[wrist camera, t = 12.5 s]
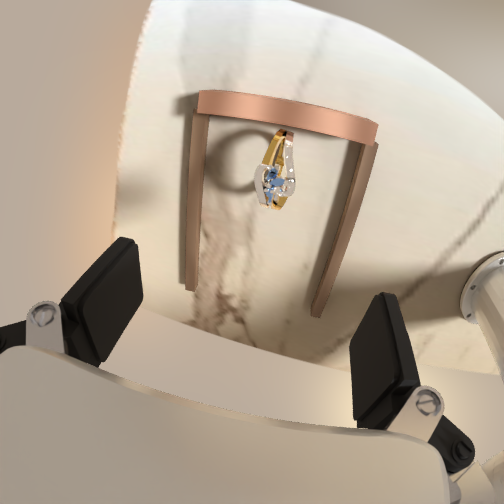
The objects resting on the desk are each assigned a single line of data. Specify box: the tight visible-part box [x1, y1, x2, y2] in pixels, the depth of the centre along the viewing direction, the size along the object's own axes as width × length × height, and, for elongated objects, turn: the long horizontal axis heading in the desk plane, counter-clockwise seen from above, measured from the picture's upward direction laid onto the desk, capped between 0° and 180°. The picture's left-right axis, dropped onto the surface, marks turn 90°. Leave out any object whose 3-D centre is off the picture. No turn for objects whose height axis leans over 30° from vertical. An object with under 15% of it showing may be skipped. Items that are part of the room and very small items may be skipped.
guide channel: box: [185, 90, 379, 318], centre depth 29 cm, size 17×24×4 cm
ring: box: [254, 129, 295, 210], centre depth 24 cm, size 7×3×8 cm, turn 165°
